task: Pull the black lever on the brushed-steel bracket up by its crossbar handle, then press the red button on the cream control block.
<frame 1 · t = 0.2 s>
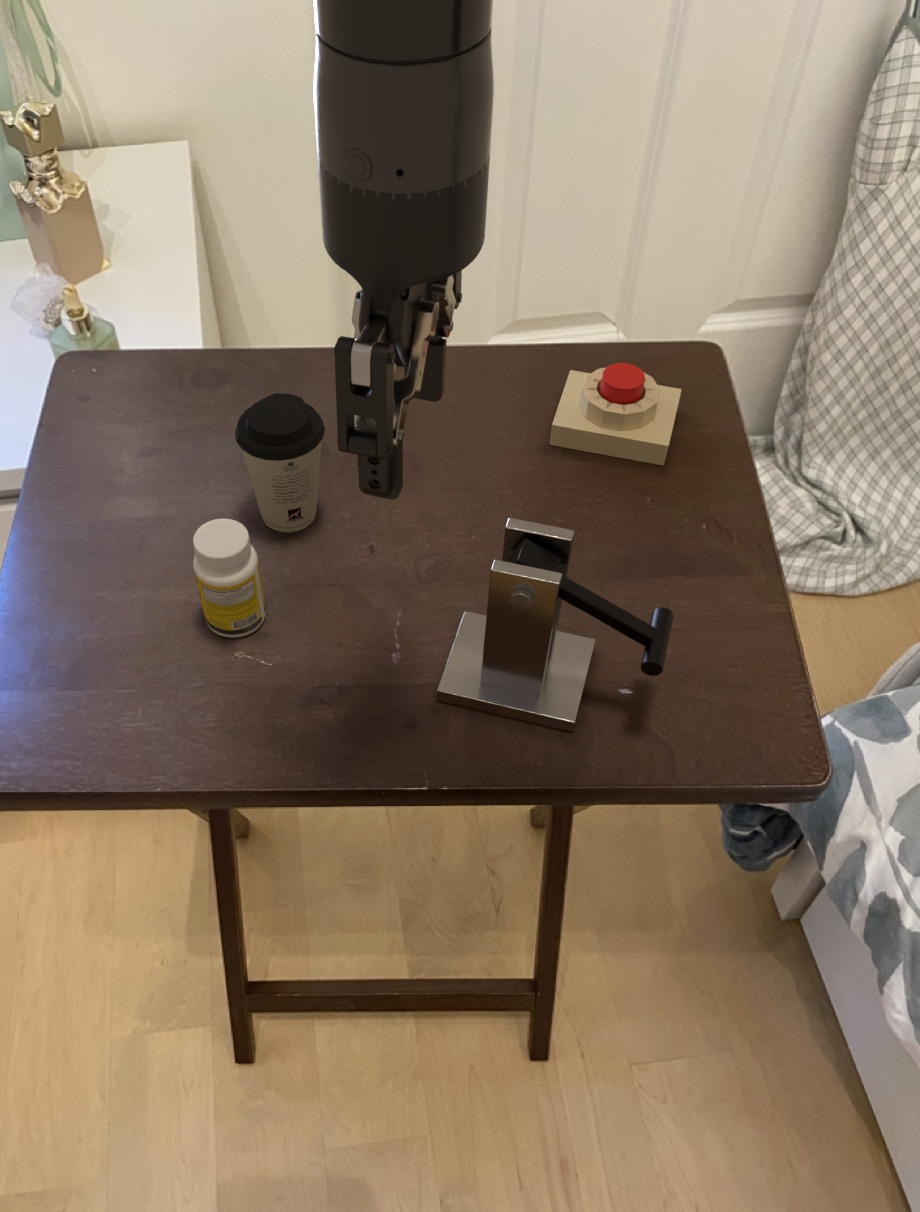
hand: (403, 442, 60), 23 cm above the table, tool pointing down, fingers open, 8 cm apart
bracket: (516, 674, 80), on the table
button: (622, 384, 93), point 4 cm above the table, slide at 0.1 cm
control block: (613, 426, 96), on the table
lever: (590, 603, 72), point 9 cm above the table, hinge at -25.0°
supplement bottle: (236, 618, 84), on the table
coffee cup: (289, 514, 90), on the table
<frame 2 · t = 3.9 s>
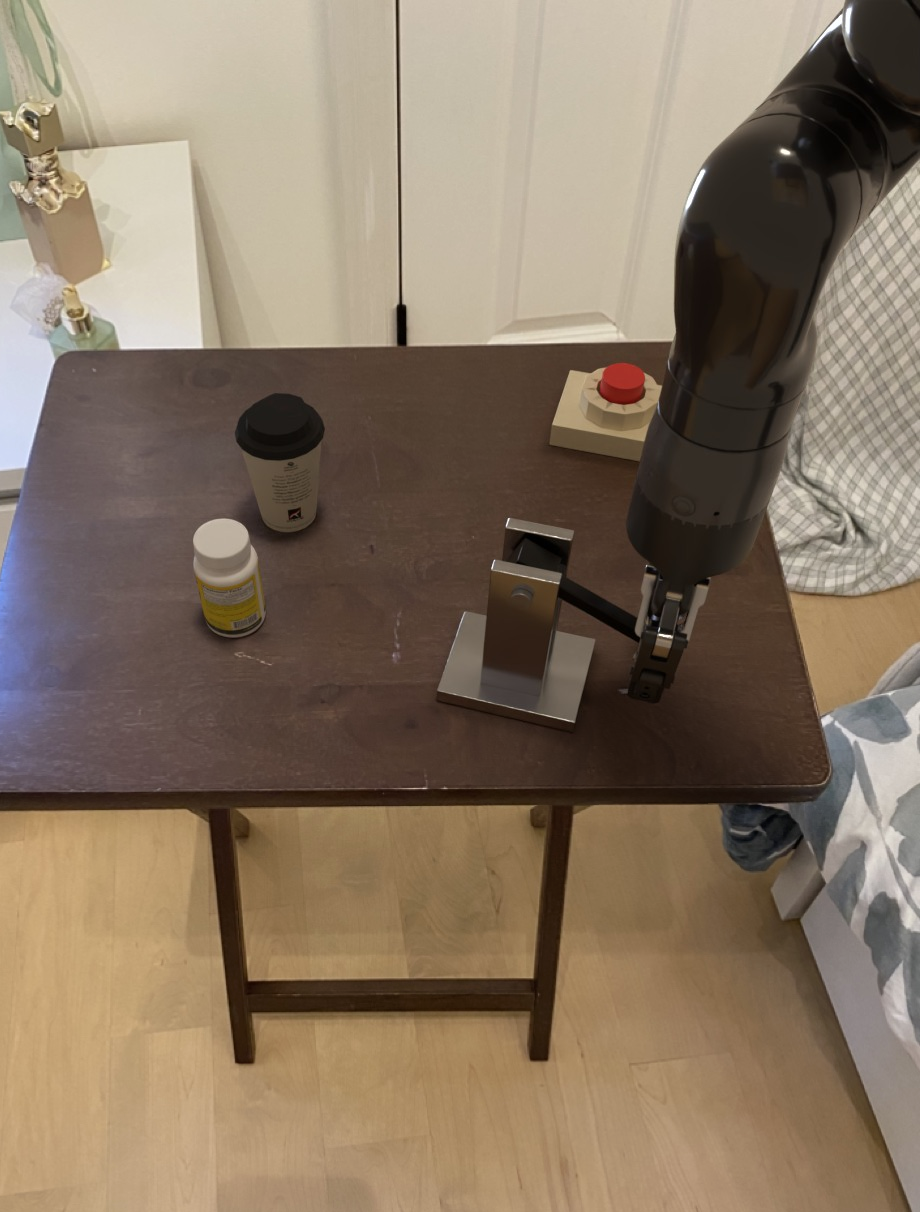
hand: (649, 664, 75), 4 cm above the table, tool pointing down, fingers closed on lever, 5 cm apart
lever: (590, 603, 72), point 9 cm above the table, hinge at -25.1°, touching gripper
everything else where it was.
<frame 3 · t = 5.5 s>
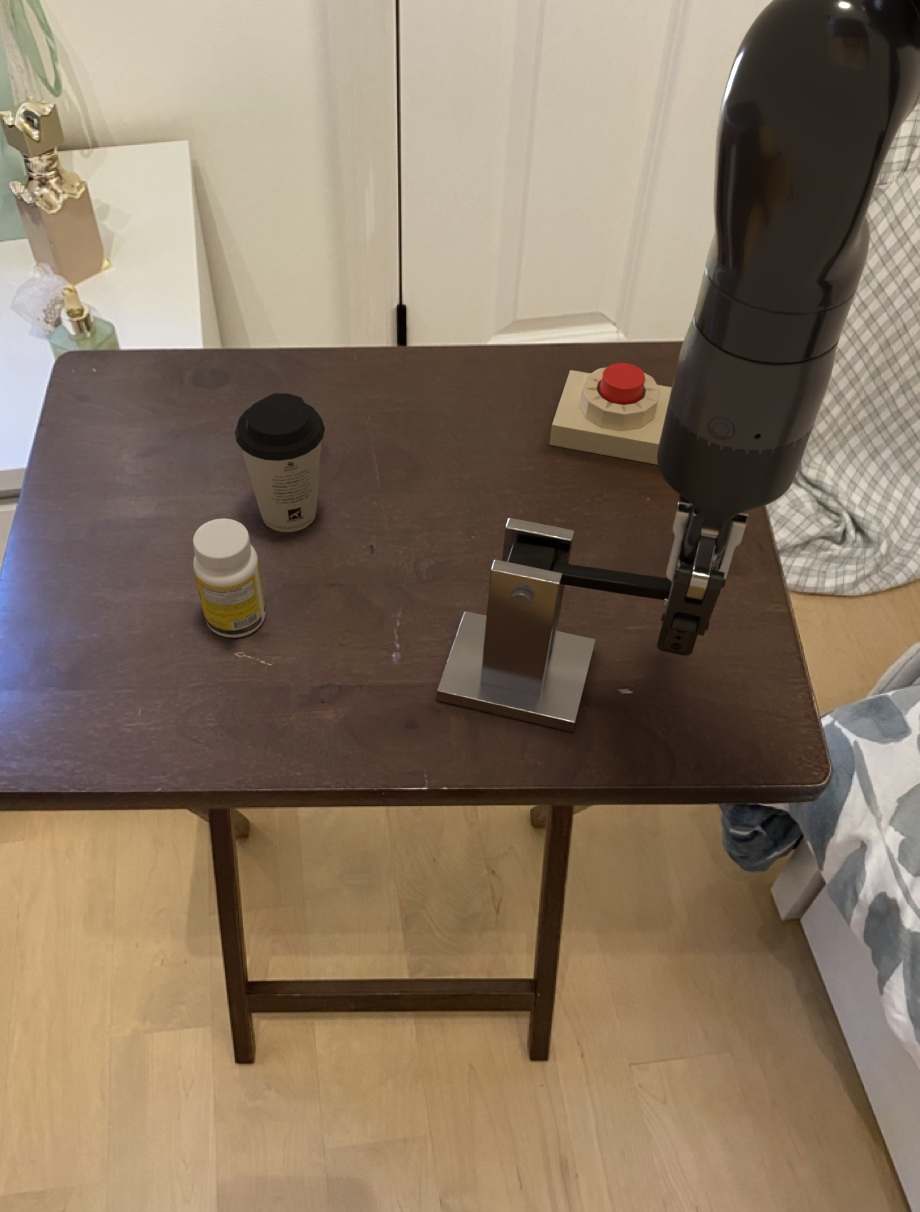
hand: (680, 616, 70), 10 cm above the table, tool pointing down, fingers closed on lever, 5 cm apart
lever: (602, 579, 70), point 11 cm above the table, hinge at 4.8°, touching gripper
everything else where it was.
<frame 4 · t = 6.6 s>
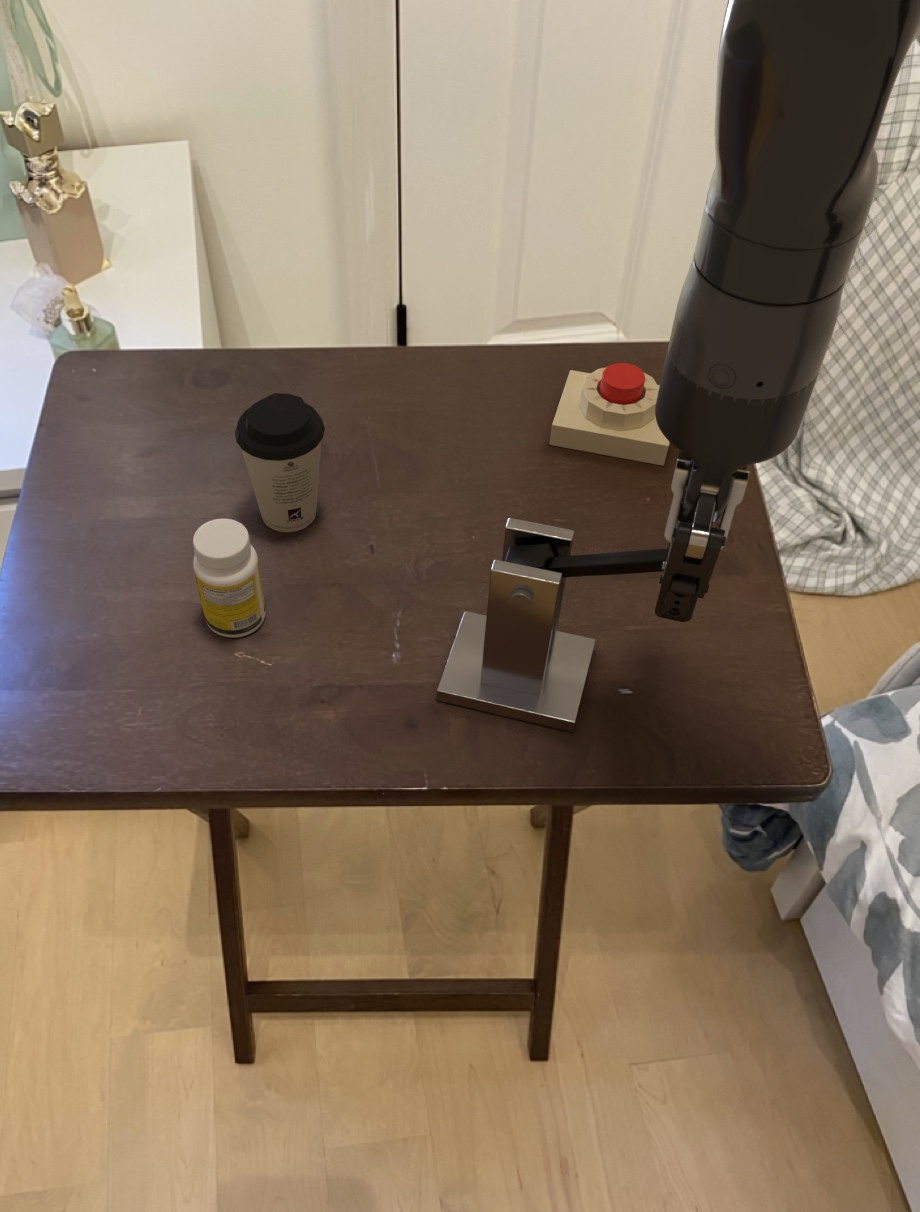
hand: (679, 582, 68), 13 cm above the table, tool pointing down, fingers closed on lever, 5 cm apart
lever: (600, 564, 69), point 13 cm above the table, hinge at 21.4°, touching gripper
everything else where it was.
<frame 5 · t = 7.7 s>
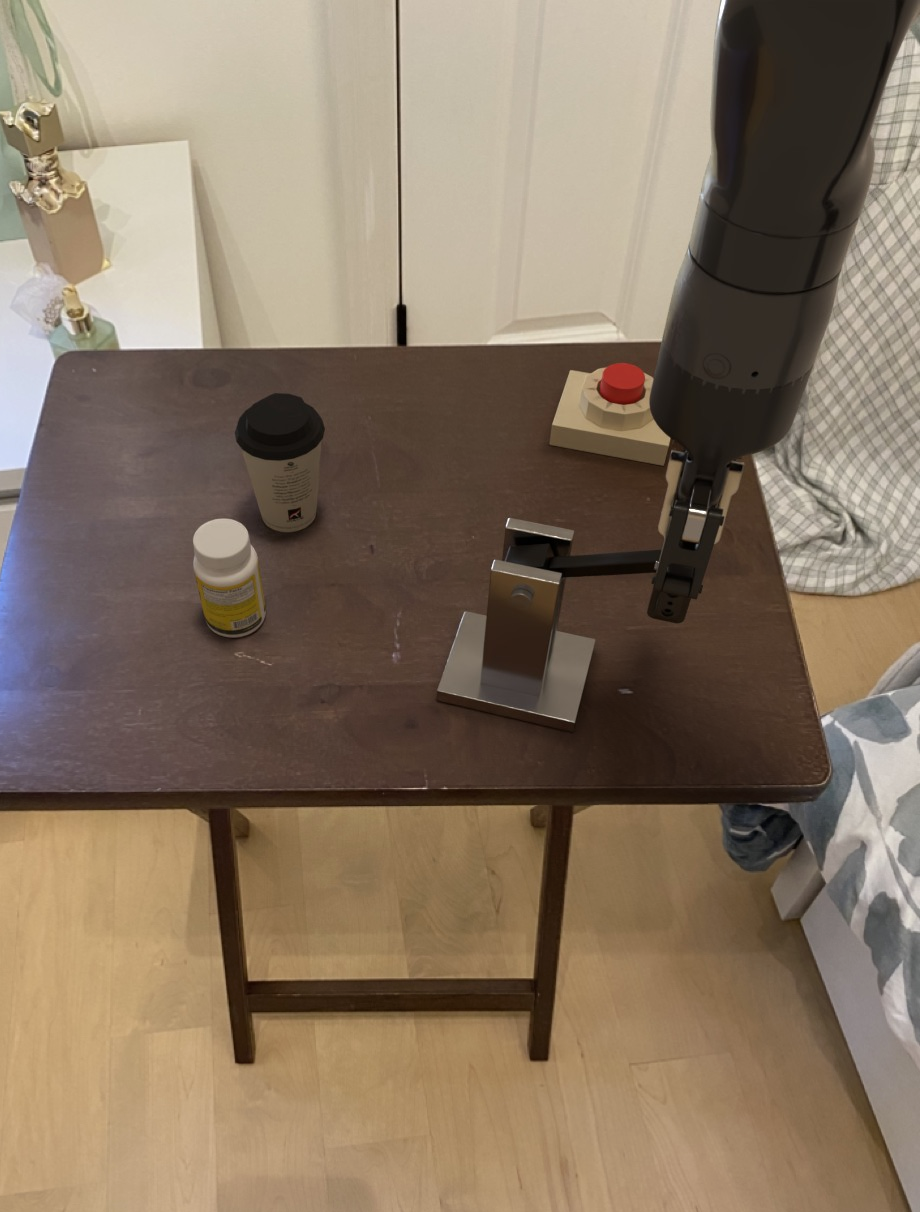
hand: (675, 567, 67), 14 cm above the table, tool pointing down, fingers open, 8 cm apart
lever: (600, 564, 69), point 13 cm above the table, hinge at 21.0°
everything else where it was.
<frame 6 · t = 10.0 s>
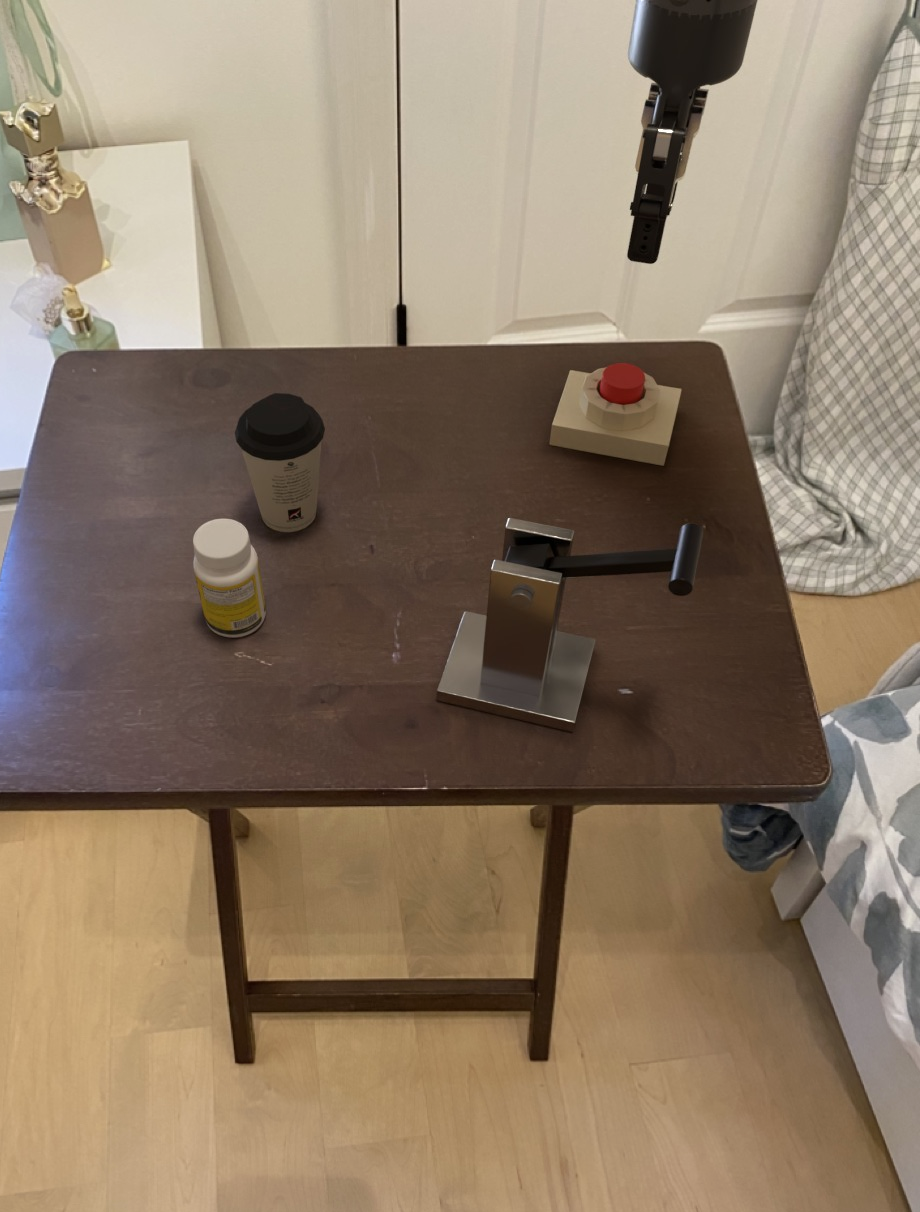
hand: (650, 230, 82), 18 cm above the table, tool pointing down, fingers open, 7 cm apart
nothing on the table moved.
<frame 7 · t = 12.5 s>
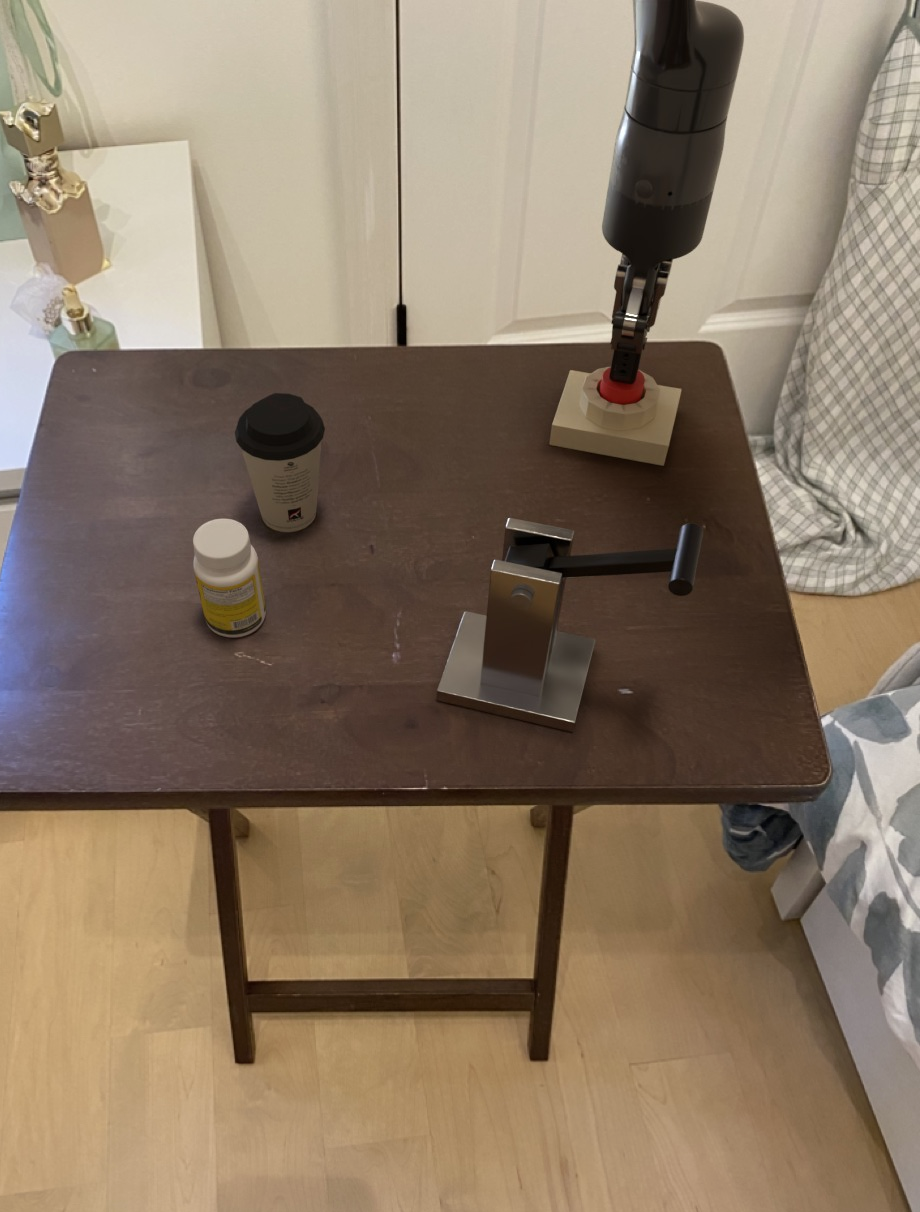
hand: (622, 377, 92), 5 cm above the table, tool pointing down, fingers closed
button: (621, 386, 93), point 4 cm above the table, slide at -0.1 cm, touching gripper
everything else where it was.
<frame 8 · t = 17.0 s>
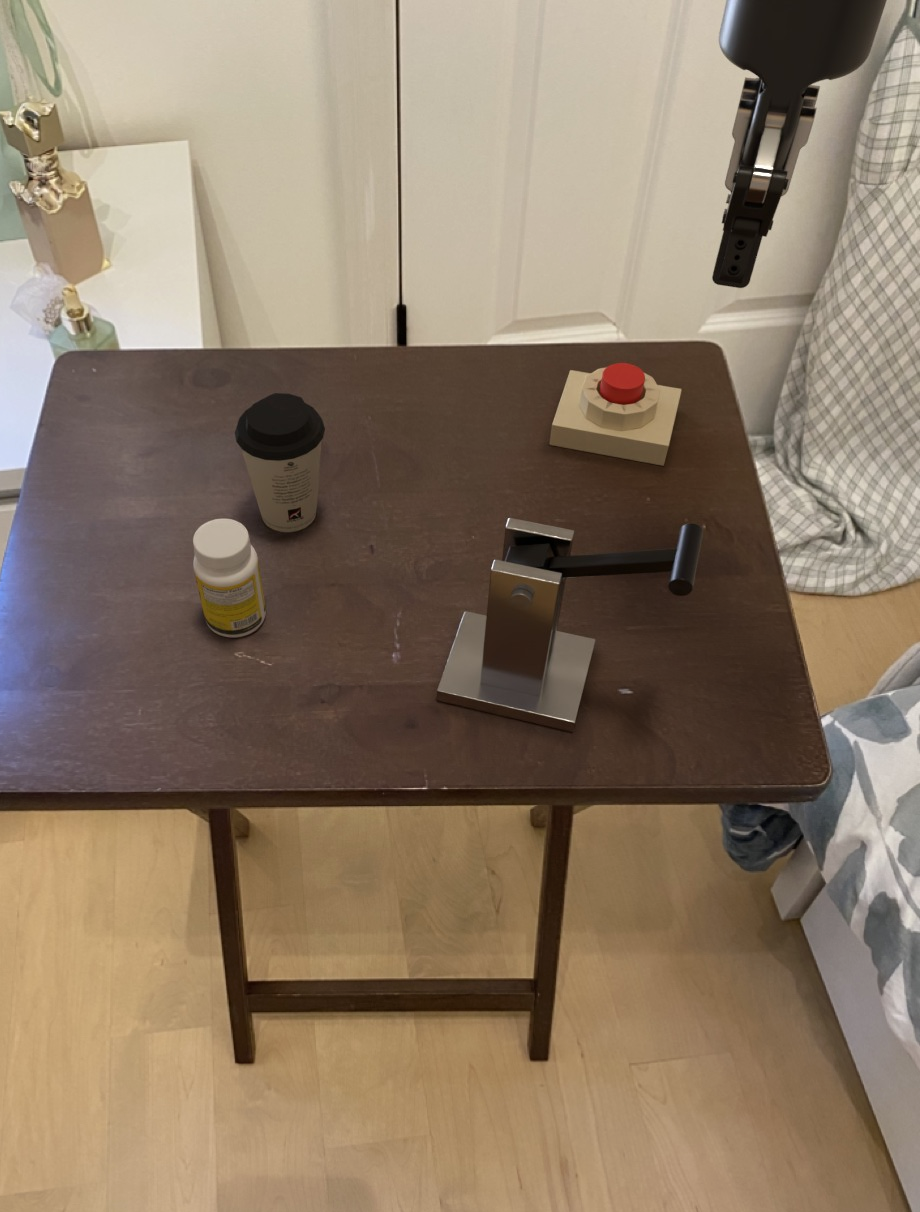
hand: (730, 279, 66), 25 cm above the table, tool pointing down, fingers closed
button: (622, 384, 93), point 4 cm above the table, slide at 0.1 cm
everything else where it was.
at the end: lever at +21° (first picture: -25°); button pushed in 1.1 cm at the most during the clip, back to where it started at the end; button slide at 0.1 cm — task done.
